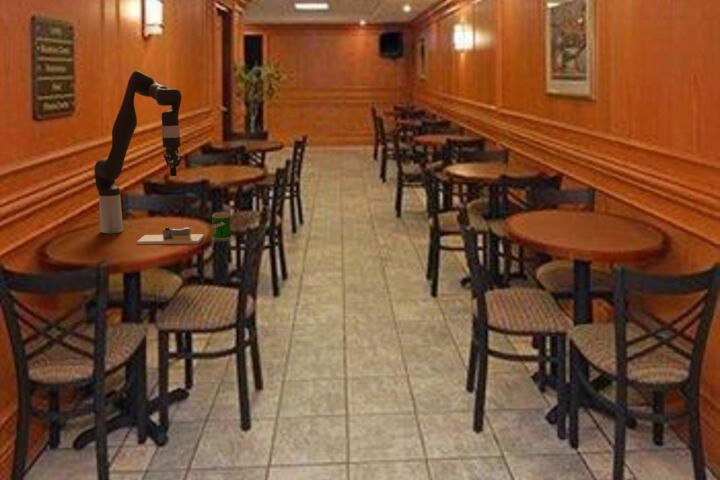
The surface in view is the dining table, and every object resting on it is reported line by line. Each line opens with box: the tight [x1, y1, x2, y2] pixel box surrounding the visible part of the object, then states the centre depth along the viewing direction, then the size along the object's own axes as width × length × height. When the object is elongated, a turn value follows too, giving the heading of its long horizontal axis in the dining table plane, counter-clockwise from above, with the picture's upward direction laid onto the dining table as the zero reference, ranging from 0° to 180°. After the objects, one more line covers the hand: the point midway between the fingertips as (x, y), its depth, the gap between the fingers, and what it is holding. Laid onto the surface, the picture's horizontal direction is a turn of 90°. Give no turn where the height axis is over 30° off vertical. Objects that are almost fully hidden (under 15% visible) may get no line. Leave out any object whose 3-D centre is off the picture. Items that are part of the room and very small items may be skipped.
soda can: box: [211, 211, 232, 242], centre depth 330 cm, size 8×8×12 cm
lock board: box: [136, 233, 205, 245], centre depth 331 cm, size 26×13×3 cm, turn 91°
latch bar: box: [162, 227, 192, 239], centre depth 329 cm, size 12×4×4 cm, turn 89°
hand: (173, 176), depth 333 cm, fingers closed
